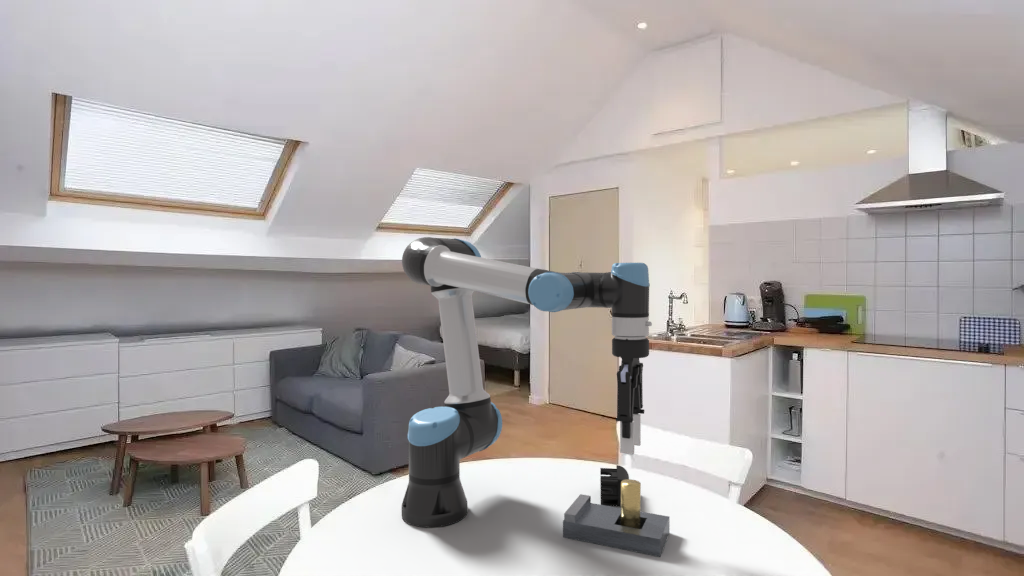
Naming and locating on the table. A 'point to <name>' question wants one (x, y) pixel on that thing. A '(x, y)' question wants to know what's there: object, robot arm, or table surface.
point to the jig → (614, 527)
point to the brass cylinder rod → (630, 503)
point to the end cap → (612, 485)
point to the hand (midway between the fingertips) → (630, 448)
